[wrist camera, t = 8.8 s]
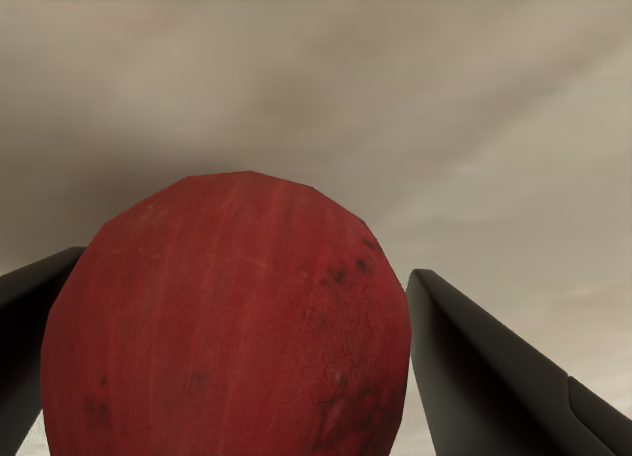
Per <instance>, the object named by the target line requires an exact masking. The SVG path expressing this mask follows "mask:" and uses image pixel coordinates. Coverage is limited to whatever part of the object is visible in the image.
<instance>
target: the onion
mask: <svg viewBox="0 0 632 456" xmlns="http://www.w3.org/2000/svg"><path fill="white" fill-rule="evenodd" d="M411 337H412V326H411V320H410V313H409V307H408V300H407V296H406V294H405V292H404V290H403V288H402V286H401V284H400V282H399V281H398V279H397V277H396V275H395V273H394V271H393V269H392V267H391V265H390V264H389V262H388V260H387V258H386V256H385V254H384V252H383V250H382V249H381V247H380V245H379V243H378V241H377V239H376V238H375V236H374V235H373V234H372V232H371V231H370V229H369V228H368V227H367V225H366V224H365V222H364V221H363V220H362V219H360V218H359V217H357V216H356V215H354V214H352V213H351V212H349V211H348V210H346V209H345V208H343V207H342V206H340V205H339V204H337V203H336V202H334V201H333V200H331V199H330V198H328V197H326V196H325V195H323V194H322V193H320V192H319V191H317V190H316V189H314V188H313V187H310V186H306V185H302V184H299V183H295V182H291V181H287V180H284V179H280V178H276V177H272V176H268V175H265V174H261V173H257V172H253V171H243V172H232V173H222V174H211V175H200V176H189V177H186V178H184V179H182V180H180V181H178V182H176V183H174V184H172V185H170V186H169V187H167V188H165V189H163V190H161V191H159V192H157V193H155V194H153V195H152V196H150V197H148V198H146V199H144V200H142V201H140V202H138V203H136V204H135V205H133V206H131V207H130V208H128V209H127V210H125V211H123V212H122V213H120V214H119V215H117V216H116V217H114V218H112V219H111V220H109V221H108V222H106V223H104V224H103V226H102V227H101V229H100V230H99V231H98V233H97V234H96V236H95V237H94V238H93V240H92V241H91V242H90V244H89V245H88V247H87V248H86V249H85V251H84V252H83V254H82V255H81V256H80V258H79V260H78V262H77V263H76V265H75V267H74V269H73V270H72V272H71V274H70V276H69V277H68V279H67V281H66V283H65V284H64V286H63V288H62V290H61V291H60V293H59V295H58V297H57V298H56V300H55V302H54V304H53V305H52V307H51V309H50V311H49V315H48V320H47V325H46V329H45V334H44V338H43V343H42V347H41V373H40V392H41V400H42V408H43V417H44V425H45V432H46V437H47V442H48V446H49V451H50V456H389V454H390V451H391V448H392V446H393V443H394V440H395V438H396V435H397V432H398V429H399V427H400V424H401V421H402V414H403V408H404V402H405V395H406V389H407V380H408V369H409V358H410V348H411Z"/></svg>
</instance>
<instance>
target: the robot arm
mask: <svg viewBox="0 0 632 456" xmlns="http://www.w3.org/2000/svg"><path fill="white" fill-rule="evenodd" d="M86 248H87V247H79V246H75V247H71V248H69V249H66V250H64V251H61V252H59V253H56V254H54V255H51V256H49V257H47V258H44V259H42V260H39V261H37V262H34V263H32V264H29V265H27V266H25V267H22V268H20V269H17V270H15V271H12V272H10V273H8V274H5V275H3V276H0V456H15V455H16V453H17V451H18V449H19V448H20V446H21V444H22V443H23V441H24V439H25V437H26V436H27V434H28V432H29V430H30V429H31V427H32V425H33V424H34V422H35V420H36V418H37V417H38V415H39V413H40V412H41V410H42V400H41V392H40V373H41V347H42V343H43V338H44V334H45V329H46V325H47V320H48V315H49V311H50V309H51V307H52V305H53V304H54V302H55V300H56V298H57V297H58V295H59V293H60V291H61V290H62V288H63V286H64V284H65V283H66V281H67V279H68V277H69V276H70V274H71V272H72V270H73V269H74V267H75V265H76V263H77V262H78V260H79V258H80V256H81V255H82V254H83V252H84V251H85V249H86ZM405 294H406V296H407V300H408V307H409V313H410V320H411V326H412V337H411V348H410V352H411V359H412V365H413V370H414V374H415V378H416V382H417V386H418V389H419V393H420V397H421V400H422V404H423V408H424V411H425V415H426V419H427V423H428V426H429V430H430V434H431V437H432V441H433V445H434V448H435V452H436V456H632V420H630V419H629V418H627V417H626V416H625V415H623V414H622V413H620V412H619V411H618V410H616V409H615V408H614V407H612V406H611V405H610V404H608V403H607V402H605V401H604V400H603V399H601V398H600V397H599V396H597V395H596V394H595V393H593V392H592V391H591V390H589V389H588V388H587V387H585V386H584V385H583V384H581V383H580V382H579V381H577V380H576V379H575V378H573V377H572V376H568V374H567V372H565V371H564V370H563V369H561V368H560V367H559V366H557V365H556V364H555V363H554V362H552V361H551V360H550V359H548V358H547V357H546V356H544V355H543V354H542V353H540V352H539V351H538V350H536V349H535V348H534V347H532V346H531V345H530V344H528V343H527V342H526V341H525V340H523V339H522V338H521V337H519V336H518V335H517V334H515V333H514V332H513V331H511V330H510V329H509V328H507V327H506V326H505V325H503V324H502V323H501V322H500V321H498V320H497V319H496V318H494V317H493V316H492V315H490V314H489V313H488V312H486V311H485V310H484V309H482V308H481V307H480V306H478V305H477V304H476V303H474V302H473V301H472V300H471V299H469V298H468V297H467V296H465V295H464V294H463V293H461V292H460V291H459V290H457V289H456V288H455V287H453V286H452V285H451V284H449V283H448V282H447V281H445V280H444V279H443V278H442V277H440V276H439V275H438V274H436V273H435V272H434V271H432V270H429V269H414V270H412V272H411V274H410V277H409V281H408V285H407V288H406V292H405Z"/></svg>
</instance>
